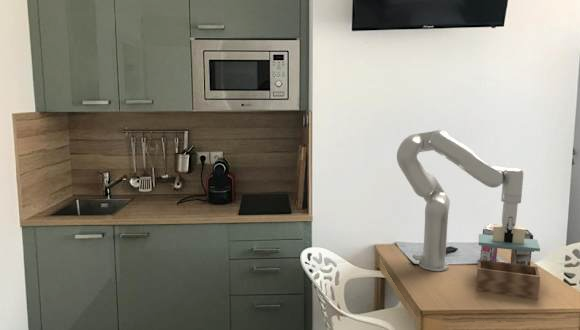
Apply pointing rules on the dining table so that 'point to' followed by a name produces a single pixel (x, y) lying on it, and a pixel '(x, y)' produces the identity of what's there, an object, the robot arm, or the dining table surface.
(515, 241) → the lid
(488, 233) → the candy bar box
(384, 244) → the dining table surface
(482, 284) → the open wooden box
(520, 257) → the coffee box
